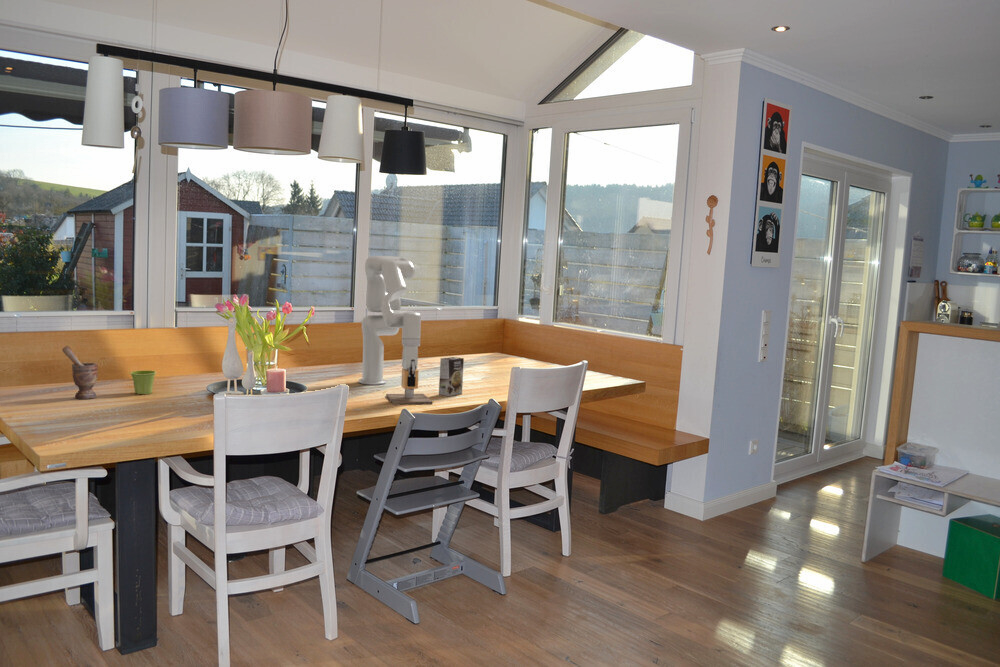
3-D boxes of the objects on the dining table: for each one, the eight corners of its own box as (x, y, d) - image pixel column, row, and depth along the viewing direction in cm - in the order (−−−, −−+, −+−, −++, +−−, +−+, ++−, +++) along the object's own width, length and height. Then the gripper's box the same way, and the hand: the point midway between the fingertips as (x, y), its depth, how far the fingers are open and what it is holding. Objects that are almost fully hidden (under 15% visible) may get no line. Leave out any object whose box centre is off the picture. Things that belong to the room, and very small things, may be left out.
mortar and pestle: (64, 401, 288) (63, 348, 286) (62, 396, 295) (61, 345, 293) (99, 399, 295) (98, 347, 292) (96, 394, 302) (95, 344, 300)
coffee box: (449, 396, 334) (450, 359, 332) (438, 394, 338) (439, 358, 336) (462, 394, 341) (464, 358, 339) (451, 391, 345) (453, 356, 343)
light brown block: (401, 386, 322) (402, 368, 322) (415, 386, 324) (415, 368, 323) (404, 388, 317) (404, 370, 316) (417, 388, 319) (418, 370, 318)
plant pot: (137, 396, 302) (137, 374, 301) (125, 393, 308) (125, 371, 307) (160, 393, 310) (160, 372, 309) (148, 390, 315) (148, 369, 315)
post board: (386, 396, 327) (386, 375, 326) (423, 395, 332) (423, 375, 331) (393, 404, 310) (394, 382, 309) (432, 404, 315) (433, 382, 314)
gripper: (398, 339, 326) (397, 381, 327) (406, 344, 309) (404, 388, 311) (415, 339, 328) (414, 381, 330) (424, 344, 312) (422, 388, 314)
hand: (409, 384), depth 320 cm, fingers closed on light brown block, 5 cm apart
